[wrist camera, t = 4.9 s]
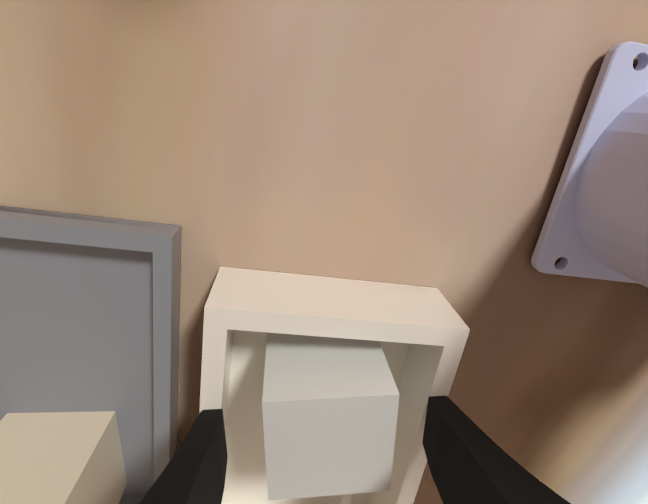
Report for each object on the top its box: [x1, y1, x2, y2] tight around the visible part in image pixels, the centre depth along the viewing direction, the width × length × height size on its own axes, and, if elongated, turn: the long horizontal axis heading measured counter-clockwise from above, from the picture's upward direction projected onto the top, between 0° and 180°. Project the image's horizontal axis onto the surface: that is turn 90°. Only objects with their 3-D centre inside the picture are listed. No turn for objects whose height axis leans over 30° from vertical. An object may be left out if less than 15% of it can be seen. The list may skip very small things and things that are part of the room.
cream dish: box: [199, 267, 470, 504], centre depth 16 cm, size 8×12×3 cm
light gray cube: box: [262, 332, 400, 501], centre depth 14 cm, size 4×4×4 cm
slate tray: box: [0, 206, 181, 504], centre depth 15 cm, size 8×13×1 cm, turn 172°
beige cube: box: [0, 411, 127, 504], centre depth 14 cm, size 4×4×4 cm
